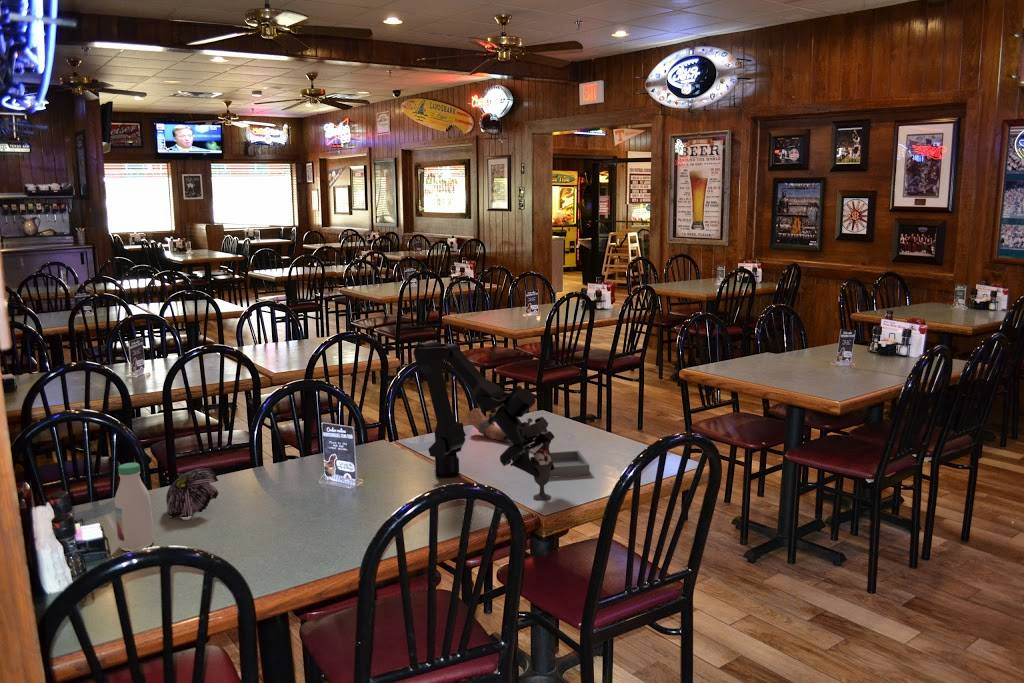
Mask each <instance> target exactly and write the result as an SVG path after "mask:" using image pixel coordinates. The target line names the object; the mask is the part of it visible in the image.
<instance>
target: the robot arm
mask: <svg viewBox="0 0 1024 683" xmlns="http://www.w3.org/2000/svg"><path fill="white" fill-rule="evenodd" d="M413 357H414V360H415V362H416V365H417V367H418V369H419V370H420V371H421V372H422V373H423V374H424V375H425V379H426V382H427V386H428V390H429V395H430V399H431V403H432V407H433V411H434V415H435V419H436V424H435V430H434V439H435V440H434V441H435V442H433V443H432V444H431V446H430V447H428V450H427V451H428V454H429V457H433V458H434V474H435V475H434V476H435V478H436V477H437V479H439V478H438V477H442V478H453V477H459V473H460V459H459V456H458V455H457V453H460V452H462V448H463V446H464V444H465V443H466V436H467V434H466V433H465V429H464V424H463V422H458V421H457V420H456V419H455V418H454V415H453V410H452V406H451V403H450V402H451V401H450V398H449V394H448V390H447V385H446V382H445V381H446V380H445V377H444V374H443V367H444V363H445V361H446V362H447V363H448V364H449V365H450V366H451V367H452V369H453V371H455V372H456V373H457V375H458V376H459V377H460V378H461V379H462V381H463V382H464V383H465V385H467V386H468V388H469V389H470V390H471V392H472V397H473V399H474V401H475V403H476V405H477V406H478V408H479V410H480V411H481V410H482V411H483V412H490V411H492V410H493V411H494V410H496V409H497V410H496V411H495V412H491V413H489V414H488V424H492V423H494V424H496V425H497V427H498V428H500V429H501V430H502V432H503V433H504V434H505V437H504V438H503V439H504V440H505V441H504V442H507V441H506V440H509V441H508V442H509V443H510V444H511V445H510V446H509V447H507V448H506V449H505V450H504V452H502V453H501V454H500V455H499V462H500V463H501V465H503V467H506V466H508V465H510V467H515V468H517V469H519V470H521V471H523V472H525V473H526V474H529V475H531V476H533V478H534V477H536V478H538V477H539V476H540V474H539V472H538V471H537V469H536V467H535V466H534V464H533V463H532V461H531V459H530V450H532V451H534V453H533V454H532V455H533V456H534V455H535V454H536V453H537V452H538V451H539V449H542V448H543V451H544V450H547V451H548V455H549V456H550V444H551V443H552V441H553V439H555V435H554V434H553V433H552V431H550V430H548V429H547V428H548V427H549V422H548V421H547V420H546V418H544V416H540V417H538V418H535V420H534V423H530V425H528V423H527V422H528V421H527V422H526V421H524V422H522V420H520V418H522V417H524V415H525V414H526V413H528V411H530V410H531V408H533V406H534V405H535V404H536V401H537V400H536V397H535V395H534V393H533V392H531V391H529V390H528V389H526V388H523V386H521V385H516V386H515V387H514V388H513V389H512V391H511V392H510V393H509V392H506V391H504V390H503V389H502V388H501V387H500V386H499V385H498V384H496V383H495V382H493V381H491V380H489V379H487V378H486V377H485V376H484V375H483V374H482V373H481V372H480V371H479V370H478V368H477V367H476V366H475V365H474V364H473V363H472V362H471V360H470V359H469V358H468V357H467V356H466V354H465V353H464V352H463V351H462V350H461V347H460V346H459V345H458V344H456V343H455V344H453V343H451V344H450V343H440V342H439V341H437V340H431V341H426V342H421V343H418V344H417V345H415V347H414V349H413ZM545 442H547V444H545ZM544 445H546V448H545V446H544ZM550 457H551V456H550ZM551 460H552V459H551ZM552 470H554V465H553V464H552V465H551V471H552Z"/></svg>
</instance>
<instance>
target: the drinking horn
mask: <svg viewBox="0 0 1024 683" xmlns="http://www.w3.org/2000/svg"><path fill="white" fill-rule="evenodd" d="M465 419H466V420H467V422H469V423H470V425H471V426H472V427H474V428H475V429H476V430H477V431H478V432H479V434H481V435H483V436H485V437H488V438H490V439H492V440H495V439H496V441H499V440H500V441H501V442H510V441H509V440H506V441H505V440H504V439H503V438H504V437H505V434H504V433H503V432H502V430H501V429H500V428H499V426H496V425H495V422H494V423H492V424H488V420H489V418H487V416H485V415H484V414H483V412H482V411H481V409H480V408H479V407H477V408H473V409H472V410H470V411H469V412H468V413H467V414H466V416H465ZM526 421H527V423H528V425H531V424H532V423H533V421H534V420H533V419H532V418H531V417H529V418H527V419H526Z"/></svg>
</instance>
